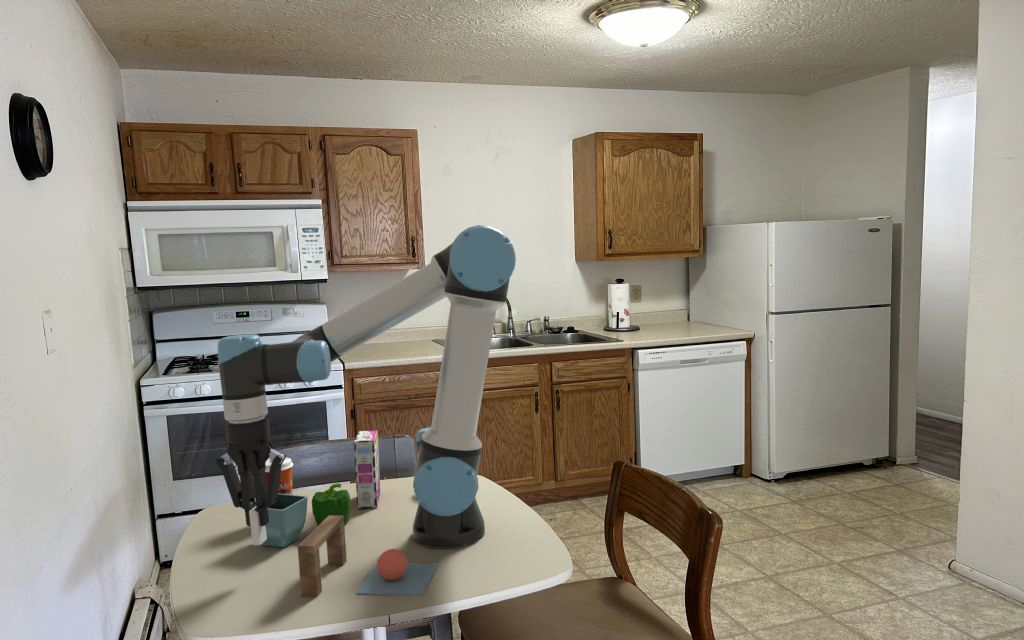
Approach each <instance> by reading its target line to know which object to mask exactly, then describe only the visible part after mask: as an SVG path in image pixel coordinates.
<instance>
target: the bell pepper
mask: <svg viewBox="0 0 1024 640" xmlns="http://www.w3.org/2000/svg"><path fill="white" fill-rule="evenodd" d="M342 485H343V484H342V483H340V482H337V483H332V484H331V485H330V486H329V488H328V489H327V490H325V491H317V492H315V493H314V494H313V496H312V499H311V510H312V511H311V512H312V513H313V514H312V515H313V517H314V521H315V524H316V527H318V526H319V525H320V524H321V523H322V522H323V521H324V520H325V519H326V518H327V517H328V516H344V527H345V526H346V525H347V524H348V522H349V518H350V515H351V508H352V506H351V505H352V503H351V496H350V493H349V491H348V490H347V489H340V488H342ZM337 488H339V489H340V490H336V489H337Z"/></svg>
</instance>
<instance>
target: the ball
mask: <svg viewBox="0 0 1024 640" xmlns="http://www.w3.org/2000/svg"><path fill="white" fill-rule="evenodd" d="M376 564H377V570H378V573H379V574H380V576H381V577H382V578H384V579H385V580H389V581H394V580H397V579H399V578H401V577H402V576H403V575H404V574H405V572H406V570H407V564H408V559H407V556H406V555H405V554H404V553H403V552H402V551H401V550H399V549H396V548H391V549H390V548H389V549H387V550H385V551H383V552H382V553H381V555H379V557H378V559H377V563H376Z"/></svg>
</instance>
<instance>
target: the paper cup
mask: <svg viewBox="0 0 1024 640" xmlns="http://www.w3.org/2000/svg"><path fill="white" fill-rule="evenodd" d="M271 464H272V463H270V458H268V460H267V461H266V470H265V474H266V484H267V485H268V478H269V470H270V466H271ZM293 466H294V463H293V462H292V458H290V457H287V456H286V458H285V460H284V462H283V464H282V467H281V475H280V482H279V490H278V494H289V495H293Z"/></svg>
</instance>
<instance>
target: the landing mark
mask: <svg viewBox="0 0 1024 640" xmlns="http://www.w3.org/2000/svg"><path fill="white" fill-rule="evenodd" d="M437 568H438V563H407V570H406V572H405V574H404V575H403V576H402V577H401V578H399V579H397V580H394V581H389V580H385V579H384V578H382V577H381V576H380V574H379V573H378V570H377V563H376V564H375V565H374V567H373V568H372V569H371V571H370V572H369V574H368V575H367V576H366V578H365V579H364V580H363V582H362V584H361V585H360V586H359V588H357V590H356V592H355V595H375V596H376V595H379V596H380V595H381V596H382V595H384V596H386V595H387V596H388V595H389V596H391V595H392V596H423V595H424V593H425V591H426V589H427V587H428V585H429V583H430V581H431V579H432V577H433V575H434V573H435V571H436V570H437ZM435 569H436V570H435Z"/></svg>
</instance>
